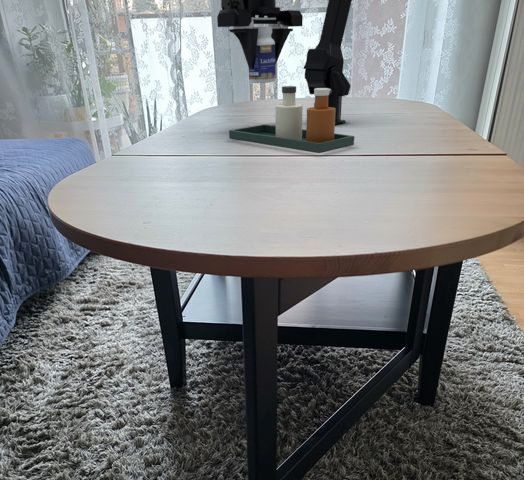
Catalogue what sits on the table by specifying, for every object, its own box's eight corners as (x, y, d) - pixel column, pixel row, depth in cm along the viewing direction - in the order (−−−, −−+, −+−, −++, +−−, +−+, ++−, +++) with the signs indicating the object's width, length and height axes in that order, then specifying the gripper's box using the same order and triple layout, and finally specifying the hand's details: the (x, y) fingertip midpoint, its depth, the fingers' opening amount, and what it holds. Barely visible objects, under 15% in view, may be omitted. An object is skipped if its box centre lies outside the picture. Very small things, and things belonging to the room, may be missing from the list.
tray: (264, 134, 111) (264, 124, 110) (353, 147, 96) (354, 136, 95) (229, 141, 105) (228, 130, 104) (318, 156, 90) (319, 143, 89)
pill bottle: (264, 83, 104) (262, 26, 99) (243, 83, 107) (240, 27, 102) (281, 80, 108) (280, 25, 102) (260, 80, 111) (258, 26, 106)
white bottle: (288, 137, 103) (288, 85, 98) (307, 140, 100) (308, 86, 95) (270, 141, 100) (269, 87, 95) (289, 144, 97) (289, 88, 92)
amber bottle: (318, 142, 98) (320, 86, 93) (339, 145, 95) (342, 88, 90) (300, 146, 95) (301, 89, 90) (321, 149, 92) (323, 90, 87)
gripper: (267, -19, 108) (267, 65, 117) (197, -23, 98) (203, 69, 106) (305, -23, 101) (303, 66, 110) (234, -29, 91) (238, 70, 99)
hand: (262, 68), depth 106 cm, fingers closed on pill bottle, 6 cm apart
